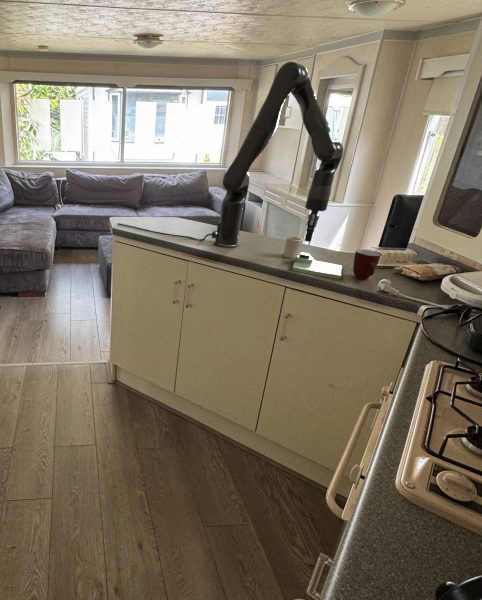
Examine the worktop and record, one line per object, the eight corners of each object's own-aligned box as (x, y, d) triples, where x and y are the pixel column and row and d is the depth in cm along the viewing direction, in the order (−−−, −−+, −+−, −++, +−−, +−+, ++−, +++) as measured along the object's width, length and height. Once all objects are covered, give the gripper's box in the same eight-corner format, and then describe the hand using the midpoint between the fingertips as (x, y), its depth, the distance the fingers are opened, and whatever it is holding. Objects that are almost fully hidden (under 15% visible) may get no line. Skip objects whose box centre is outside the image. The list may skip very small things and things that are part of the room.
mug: (381, 284, 155) (390, 258, 151) (360, 284, 155) (368, 258, 151) (364, 274, 165) (372, 249, 161) (344, 274, 164) (351, 249, 160)
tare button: (299, 258, 172) (300, 254, 171) (299, 256, 175) (300, 251, 174) (308, 260, 170) (309, 255, 170) (309, 257, 173) (310, 253, 173)
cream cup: (282, 257, 181) (286, 238, 178) (284, 253, 186) (287, 235, 183) (297, 259, 179) (302, 241, 175) (299, 255, 184) (303, 237, 180)
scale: (291, 270, 166) (292, 263, 165) (295, 260, 178) (296, 253, 176) (340, 279, 159) (342, 271, 158) (341, 268, 171) (343, 261, 169)
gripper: (309, 193, 169) (299, 235, 177) (306, 198, 159) (295, 243, 166) (330, 195, 166) (319, 238, 174) (328, 201, 156) (316, 246, 163)
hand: (307, 241), depth 170 cm, fingers closed
